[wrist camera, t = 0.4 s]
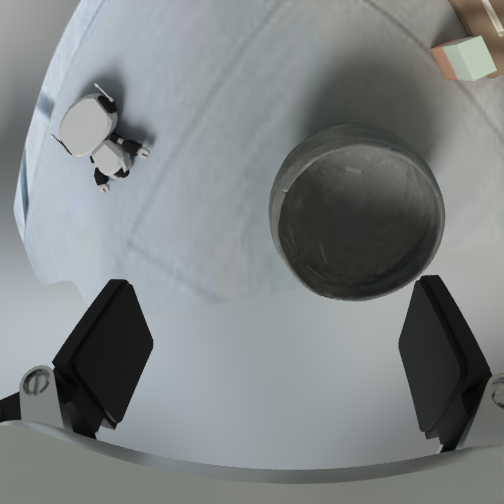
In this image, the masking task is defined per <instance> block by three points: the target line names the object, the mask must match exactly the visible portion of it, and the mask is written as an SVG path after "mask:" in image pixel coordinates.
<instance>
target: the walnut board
mask: <svg viewBox="0 0 504 504" xmlns="http://www.w3.org/2000/svg"><path fill="white" fill-rule="evenodd" d="M448 1H449V2H450V4H451V5H452V7H453V9H454V10H455V12H456V14H457V16H458V17H459V19H460V21H461V23H462V24H463V26H464V28H465V30H466V32H467V34H468V36H469V37H474V36H482V38H483V40H484V42H485V44H486V47H487V49H488V51H489V53H490V55H491V58H492V60H493V62H494V65H495V67H496V69H497V71H495V72H492V73H490V74H488V75H487V77H488V78H495V77H497V76H500V75H502V74H504V0H448Z"/></svg>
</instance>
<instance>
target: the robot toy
mask: <svg viewBox="0 0 504 504" xmlns="http://www.w3.org/2000/svg"><path fill="white" fill-rule="evenodd" d="M95 86H96V87H98V88H99V89H100V90H101V91H102V92H103V93H104V94H103V95H101V94H99V93H94V94H90V95H86V96H84V97H82V98H80V99H79V100H78V101H76V102H75V103H74V104H73V105H72V106H71V107H69V109H68V111H67V112H66V114H65V115H64V117H63V119H62V121H61V124H60V128H59V137H60V139H61V142H60V141H59V140H58V139H57V138H56V137H55V136H54V135H52V134H51V137H52V138H54V139H55V140H56V141H57V142H58V143H59V144H60V145H61V146H62V147H63V148H64V150H65V151H67V152H69V153H70V154H71V155H75V156H77V157H83V156H86V155H87V154H89V153H91V152H93V154H92V156H91V157H90V159H91V163H94V164H95V167H96V168H95V173H94V177H95V180H96V183H97V185H100V190H101V192H103V193H105V192H109V190H110V186H109V184H108V183H107V182H108V181H109V178H108V176H110V177H111V178H113V179H117V178H119V177H122V178H125V177H127V176H128V175H129V169H130V168H131V165H132V161H131V159H130V154H131V155H133V156H137V155H138V156H139V157H140V158H142V159H146V158H147V157H148V156H147V155H148V154H149V153H150V152H149V150H148V149H147V148H142V144H140V143H138V142H136V141H134V140H123V139H121V135H119V134H117V133H113V131H114V129H115V127H116V125H117V120H118V117H117V112H116V111H117V109H116V106H115V103H114V102H113V100H114V99H113V98H112V97H110V96H109V95H108V94H107V93H106V92H105V91H104V90H103V89H102V88H101V87H100V86H99V85H98V84H97V83H95ZM112 133H113V134H112ZM111 134H112V136H111V137H110V135H111ZM144 153H145V154H147V155H145V154H144Z"/></svg>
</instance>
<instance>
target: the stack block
mask: <svg viewBox="0 0 504 504" xmlns="http://www.w3.org/2000/svg"><path fill="white" fill-rule="evenodd" d="M430 50H431V52H432V54H433V56H434V58H435V60H436V62H437V64H438V66H439V68H440V70H441V72H442V74H443V76H444V78H445V79H449V80H466V81H474V80H477V79H479V78H481V77H483V76H486V75H488V74H490V73H492V72H495V71H497V69H496V67H495V65H494V62H493V60H492V58H491V55H490V53H489V51H488V49H487V47H486V44H485V42H484V40H483V38H482V36H474V37H467V38H461V39H455V40H451V41H449V42H446V43H444V44H441V45H438V46H436V47H434V48H431V49H430Z"/></svg>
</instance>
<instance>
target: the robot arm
mask: <svg viewBox="0 0 504 504" xmlns="http://www.w3.org/2000/svg"><path fill="white" fill-rule="evenodd" d="M152 349H153V338H152V336H151V333H150V331H149V328H148V326H147V323H146V321H145V318H144V315H143V313H142V310H141V307H140V305H139V302H138V299H137V297H136V294H135V291H134V288H133V286H132V285H131V284H129V282H128V281H127V280H123V279H112V280H110V281H109V282H108V283H107V284H106V286H105V287H104V288H103V289H102V291H101V292H100V293H99V295H98V296H97V298H96V299H95V300H94V302H93V303H92V304H91V306H90V307H89V308H88V310H87V311H86V313H85V314H84V316H83V317H82V318H81V320H80V321H79V323H78V324H77V325H76V327H75V328H74V330H73V331H72V333H71V334H70V335H69V337H68V339H67V340H66V341H65V343H64V344H63V346H62V347H61V349H60V350H59V352H58V353H57V355H56V356H55V358H54V360H53V361H52V363H53V365H54V366H55V368H54V370H52V369H51V368H50V367H48V366H43V365H40V366H36V367H34V368H32V369H30V370H29V371H28V372H27V373H26V374H25V375H24V376H23V378H22V380H21V382H20V391H19V392H17V393H15V394H13V395H11V396H8V397H6V398H4V399H2V400H0V504H504V373H498V374H495V375H493V376H492V373H491V371H490V368H489V366H488V364H487V362H486V359H485V357H484V355H483V353H482V351H481V349H480V348H479V345H478V343H477V341H476V339H475V337H474V335H473V334H472V332H471V330H470V328H469V326H468V324H467V322H466V320H465V319H464V317H463V315H462V313H461V311H460V310H459V308H458V306H457V304H456V303H455V301H454V299H453V298H452V296H451V294H450V293H449V291H448V289H447V287H446V286H445V284H444V283H443V281H442V279H441V278H440V277H439V276H438V275H426V276H421V278H420V280H417V281H416V282H415V285H414V289H413V293H412V297H411V301H410V305H409V308H408V312H407V315H406V319H405V322H404V325H403V329H402V332H401V335H400V338H399V351H400V355H401V358H402V362H403V365H404V368H405V372H406V376H407V379H408V383H409V387H410V391H411V394H412V398H413V402H414V406H415V410H416V415H417V419H418V424H419V427H420V430H421V431H422V432H425V436H426V439H431V438H435V437H439V440H440V444H441V445H440V447H439V449H438V451H437V453H436V454H435V455H430V456H425V457H420V458H415V459H410V460H403V461H398V462H390V463H384V464H377V465H370V466H360V467H349V468H336V469H319V470H318V469H316V470H272V469H250V468H237V467H227V466H218V465H210V464H202V463H196V462H189V461H183V460H177V459H171V458H167V457H162V456H157V455H152V454H147V453H143V452H139V451H135V450H131V449H127V448H123V447H120V446H116V445H113V444H109V443H105V442H103V441H102V439H101V436H100V433H99V427H100V425H102V426H103V427H106V428H110V429H113V430H115V428H116V426H117V423H120V422H121V421H122V419H123V417H124V414H125V412H126V410H127V407H128V405H129V402H130V400H131V398H132V395H133V393H134V390H135V388H136V386H137V383H138V381H139V379H140V376H141V374H142V372H143V369H144V367H145V365H146V362H147V360H148V358H149V356H150V353H151V351H152Z"/></svg>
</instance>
